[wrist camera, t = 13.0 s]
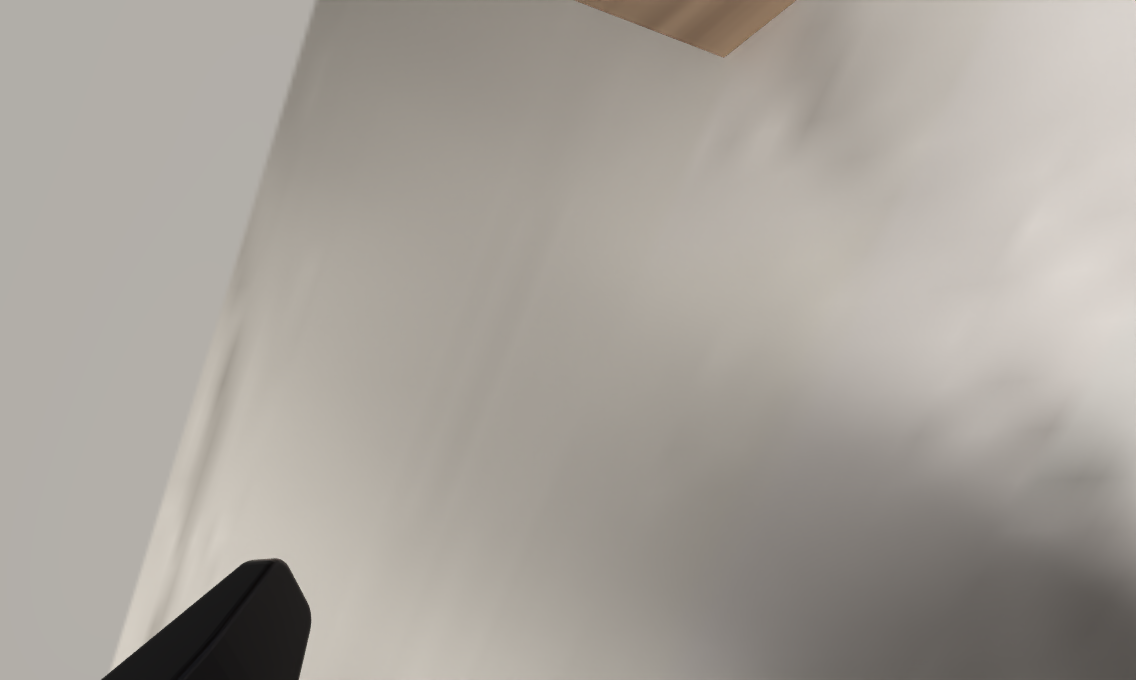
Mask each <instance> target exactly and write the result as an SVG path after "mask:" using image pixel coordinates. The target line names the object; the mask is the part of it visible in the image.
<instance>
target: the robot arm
mask: <svg viewBox="0 0 1136 680" xmlns="http://www.w3.org/2000/svg"><path fill="white" fill-rule="evenodd" d="M310 628H311V612H310V608H309V605H308V602H307V601H306V599H305V597H304V595H303V593H302V591H301V589H300V587H299V585H298V584H297V582H296V580H295V578H294V576H293V574H292V572H291V570H290V568H289V567H288V565H287V564H286V563H285V562H284V561H282V560H281V559H277V558H274V559H260V560H251V561H247V562H245V563H243V564H242V565H240V566H239V567H238V568H237V569H235V570H234V571H233V572H232V573H231V574H229V575H228V576H227V577H226V578H224V579H223V580H222V581H221V582H220V583H218V584H217V585H216V586H215V587H213V588H212V589H211V590H210V591H209V592H207V593H206V594H205V595H204V596H203V597H201V598H200V599H199V600H198V601H196V602H195V603H194V604H193V605H192V606H190V607H189V608H188V609H187V610H185V611H184V612H183V613H182V614H181V615H179V616H178V617H177V618H176V619H175V620H173V621H172V622H171V623H170V624H168V625H167V626H166V627H165V628H164V629H162V630H161V631H160V632H159V633H157V634H156V635H155V636H154V637H153V638H151V639H150V640H149V641H148V642H147V643H145V644H144V645H143V646H142V647H140V648H139V649H138V650H137V651H136V652H134V653H133V654H132V655H131V656H129V657H128V658H127V659H126V660H125V661H123V662H122V663H121V664H120V665H118V666H117V667H116V668H115V669H114V670H112V671H111V672H110V673H109V674H107V675H106V676H105V677H104V678H103V679H102V680H299V677H300V672H301V668H302V664H303V659H304V655H305V651H306V646H307V642H308V637H309V633H310Z"/></svg>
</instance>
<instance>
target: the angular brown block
mask: <svg viewBox="0 0 1136 680" xmlns="http://www.w3.org/2000/svg"><path fill="white" fill-rule="evenodd" d="M575 1H578V2H580V3H583V4H586V5H588V6H591V7H593V8H596V9H599V10H601V11H604V12H606V13H609V14H612V15H614V16H617V17H619V18H622V19H625V20H627V21H630V22H632V23H635V24H638V25H640V26H643V27H646V28H648V29H651V30H653V31H656V32H659V33H661V34H664V35H666V36H669V37H672V38H674V39H677V40H679V41H682V42H685V43H687V44H690V45H692V46H695V47H698V48H700V49H703V50H706V51H708V52H711V53H713V54H716V55H719V56H721V57H725V56H727V55H728V54H729V53H730V52H732V51H733V50H734V49H735V48H737V47H738V46H739V45H740V44H742V43H743V42H744V41H745V40H747V39H748V38H749V37H750V36H752V35H753V34H754V33H756V32H757V31H758V30H759V29H761V28H762V27H763V26H764V25H766V24H767V23H768V22H769V21H771V20H772V19H773V18H774V17H776V16H777V15H778V14H779V13H781V12H782V11H783V10H784V9H786V8H787V7H788V6H790V5H791V4H792V3H793V2H795V1H796V0H575Z"/></svg>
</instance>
